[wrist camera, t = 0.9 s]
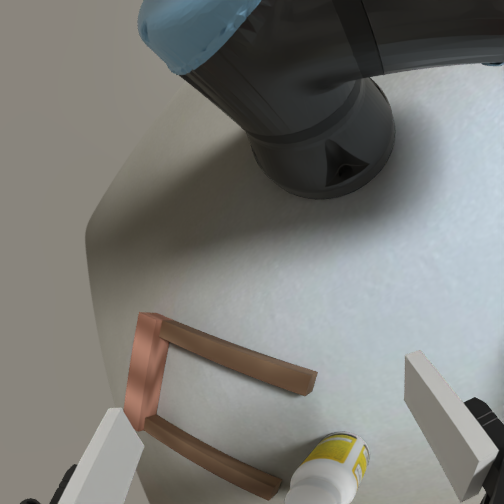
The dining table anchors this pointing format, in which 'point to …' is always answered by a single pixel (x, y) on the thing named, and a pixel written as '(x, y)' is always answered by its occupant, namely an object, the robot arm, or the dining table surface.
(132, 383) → the walnut channel
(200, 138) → the dining table surface
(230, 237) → the dining table surface
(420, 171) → the dining table surface
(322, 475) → the supplement bottle
